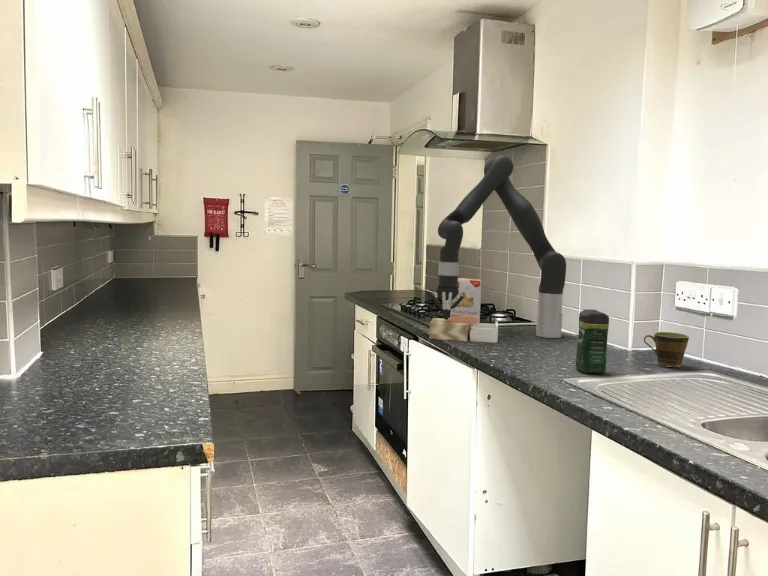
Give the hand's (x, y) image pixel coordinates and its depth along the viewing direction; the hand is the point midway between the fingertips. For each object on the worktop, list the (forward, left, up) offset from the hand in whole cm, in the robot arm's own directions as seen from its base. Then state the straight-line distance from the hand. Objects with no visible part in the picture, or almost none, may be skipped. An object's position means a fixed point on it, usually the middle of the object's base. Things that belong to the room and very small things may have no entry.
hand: (446, 319), depth 232 cm
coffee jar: (-46, +42, -7) cm, 63 cm away
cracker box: (-5, -19, -7) cm, 21 cm away
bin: (-14, 0, -7) cm, 16 cm away
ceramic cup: (-71, +27, -7) cm, 77 cm away
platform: (-1, 0, -7) cm, 7 cm away
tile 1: (-4, 0, -1) cm, 4 cm away
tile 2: (-9, 0, -1) cm, 9 cm away
